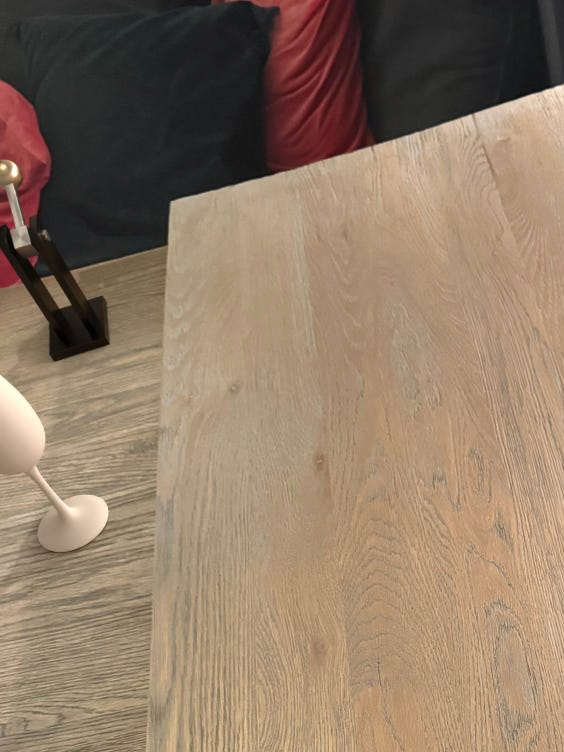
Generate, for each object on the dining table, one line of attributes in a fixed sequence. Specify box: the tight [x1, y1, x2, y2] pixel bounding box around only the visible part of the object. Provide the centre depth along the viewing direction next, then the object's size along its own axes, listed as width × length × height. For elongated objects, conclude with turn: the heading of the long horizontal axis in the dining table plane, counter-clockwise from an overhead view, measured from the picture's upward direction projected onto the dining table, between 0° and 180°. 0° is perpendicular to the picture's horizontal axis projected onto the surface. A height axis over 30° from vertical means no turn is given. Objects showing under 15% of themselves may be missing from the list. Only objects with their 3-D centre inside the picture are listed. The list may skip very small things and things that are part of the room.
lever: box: [0, 159, 41, 259], centre depth 121 cm, size 13×4×4 cm, turn 17°
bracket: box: [0, 214, 110, 362], centre depth 126 cm, size 10×8×16 cm
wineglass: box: [0, 374, 109, 553], centre depth 102 cm, size 9×9×21 cm
